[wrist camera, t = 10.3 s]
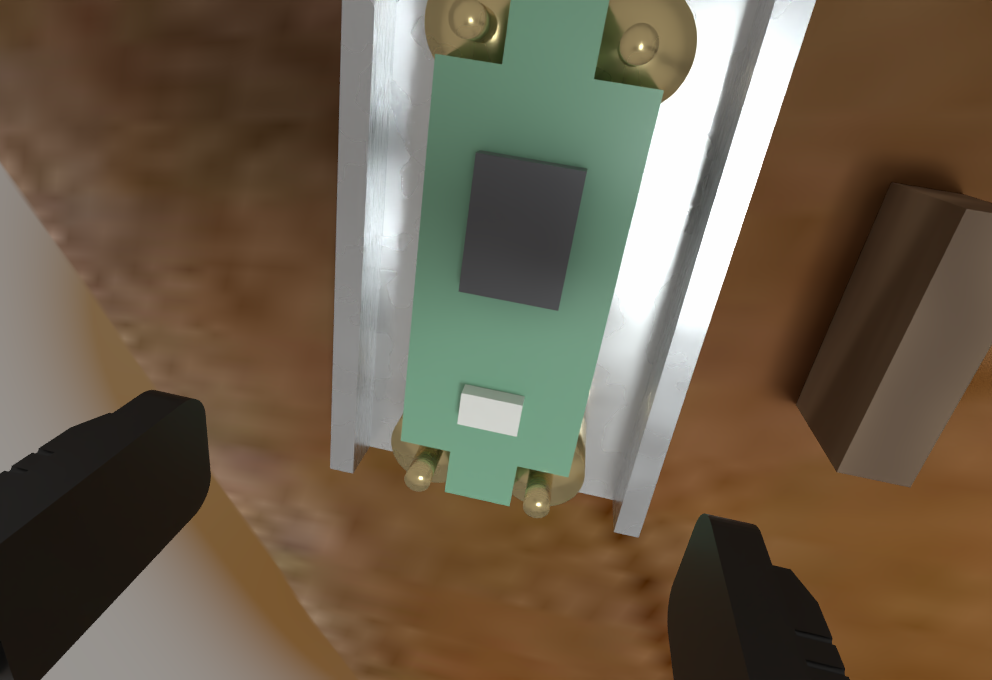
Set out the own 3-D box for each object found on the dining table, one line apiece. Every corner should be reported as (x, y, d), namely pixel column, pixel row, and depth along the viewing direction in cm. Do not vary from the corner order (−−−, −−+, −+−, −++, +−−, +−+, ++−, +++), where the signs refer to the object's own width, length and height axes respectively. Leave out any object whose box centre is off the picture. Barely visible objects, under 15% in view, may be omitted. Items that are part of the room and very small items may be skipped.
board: (677, 15, 15) (687, 6, 13) (560, 495, 22) (557, 528, 20) (452, -19, 16) (435, -30, 14) (406, 461, 22) (391, 491, 21)
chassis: (791, -27, 18) (884, -78, 12) (633, 482, 26) (643, 597, 21) (386, -84, 19) (292, -156, 13) (360, 423, 28) (296, 516, 22)
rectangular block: (964, 194, 20) (1060, 224, 16) (856, 416, 23) (910, 487, 19) (891, 182, 20) (966, 208, 16) (796, 404, 24) (836, 472, 20)
